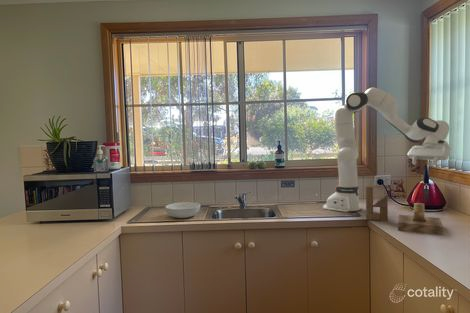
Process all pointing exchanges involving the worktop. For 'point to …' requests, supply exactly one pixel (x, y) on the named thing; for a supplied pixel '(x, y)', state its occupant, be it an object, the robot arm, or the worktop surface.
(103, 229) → the worktop surface
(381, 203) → the wooden braced stand
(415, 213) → the peg
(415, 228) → the board
